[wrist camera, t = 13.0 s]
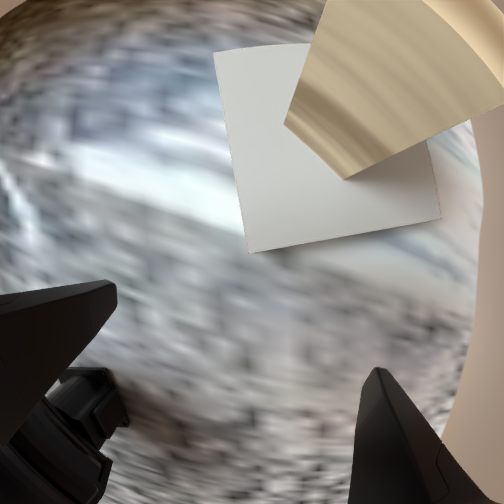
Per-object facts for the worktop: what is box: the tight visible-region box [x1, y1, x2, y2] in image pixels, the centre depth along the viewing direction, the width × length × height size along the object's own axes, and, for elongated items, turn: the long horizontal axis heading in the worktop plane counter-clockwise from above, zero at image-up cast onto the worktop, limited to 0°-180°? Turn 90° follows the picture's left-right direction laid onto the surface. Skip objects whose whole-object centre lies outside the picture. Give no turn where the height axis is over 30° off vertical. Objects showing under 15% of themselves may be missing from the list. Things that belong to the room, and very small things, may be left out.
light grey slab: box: [213, 44, 441, 253], centre depth 17 cm, size 14×14×3 cm
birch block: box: [283, 0, 504, 180], centre depth 9 cm, size 5×5×13 cm
